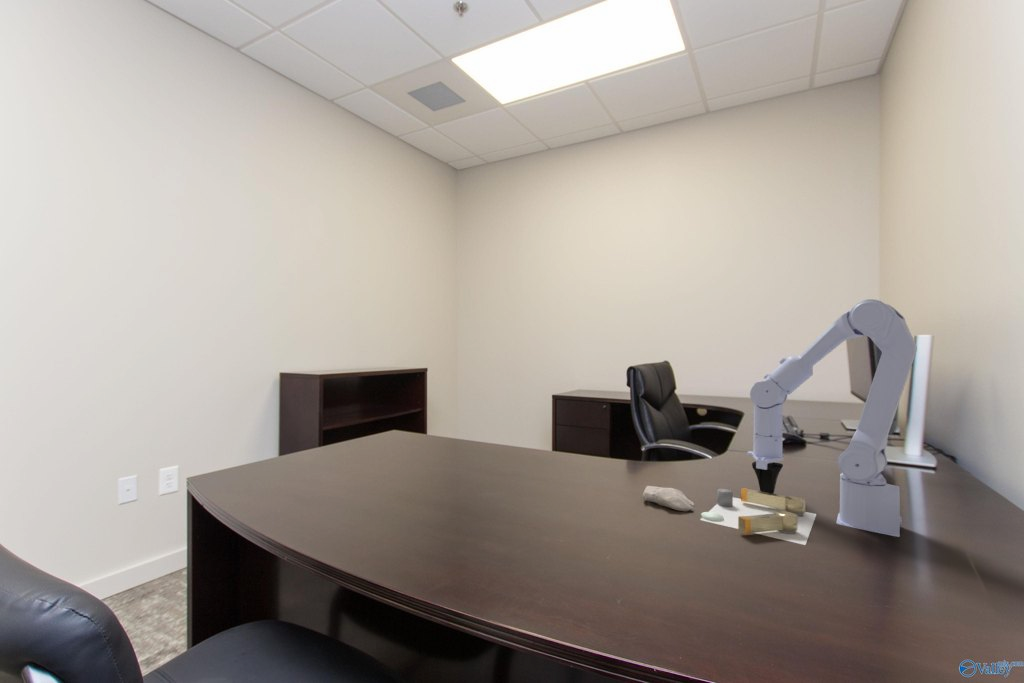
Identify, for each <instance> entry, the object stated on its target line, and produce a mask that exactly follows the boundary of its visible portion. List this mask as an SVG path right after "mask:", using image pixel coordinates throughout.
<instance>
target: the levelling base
mask: <svg viewBox="0 0 1024 683" xmlns="http://www.w3.org/2000/svg"><path fill="white" fill-rule="evenodd" d="M733 495H734V491H733V490H730V489H727V488H718V489H717V496H716V497H717V499H716V502H717V503H716V504H715V505H714V506H713V507H711V509H710V510H709V511H703V512H701V513H700V519H699V520H700V521H702V522H706V523H709V524H710V523H711V524H715V525H718V526H723V527H728V528H732V529H736V530H738V516H753V515H764V514H775V512H776V511H787V510H785V509H780V508H775V507H770V506H765V505H760V504H755V503H750V502H744V501H741V498H739V497H734V496H733ZM787 512H789V511H787ZM791 513H793V512H791ZM794 514H796V515H797V516H798V530H797V531H786V530H775V531H766V532H756V533H755V534H757V535H762V536H765V537H769V538H773V539H778V540H782V541H785V542H790V543H794V544H798V545H801V546H807V542H808V539H809V537H810V534H811V531H812V527H813V525H814V523H815V521H816V517H817V513H814V512H808V511H805V513H802V514H799V513H794Z"/></svg>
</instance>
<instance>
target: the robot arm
mask: <svg viewBox="0 0 1024 683" xmlns="http://www.w3.org/2000/svg"><path fill="white" fill-rule="evenodd" d="M864 336H867V337H869V339H871V341H872V342H873V343H874V345H875V346H876V347H877V348H878V349H879V351H881V354H880V357H879V361H878V364H877V367H876V370H875V373H874V376H873V379H872V382H871V385H870V388H869V391H868V394H867V398H866V400H865V403H864V406H863V409H862V411H861V412H862V413H861V416H860V420H859V422H858V425H857V427H856V430H855V432H854V434H853V435H852V438H851V440H850V442H849V445H848V447H847V448H846V449H845V450H843V451H842V452H841V453H840V454H839V456H838V458H837V466H838V468H839V471H840V474H839V478H840V479H839V512H838V513H837V518H836V523H835V524H836V525H839V526H844V527H847V528H853V529H859V530H863V531H868V532H872V533H877V534H882V535H888V536H892V537H898V538H899V537H901V535H900V534H901V533H900V530H901V528H900V527H902V522H903V520H902V518H903V517H902V516H901V504H900V503H901V501H900V500H901V496H900V495H901V491H900V490H901V489H900V486H898V485H894V484H890V483H887V479H886V478H885V477H884V476H883V474H882V472H883V471H884V470H885V469H886V467H887V465H888V458H887V456H886V449H887V445H888V436H889V433H890V432H891V431H890V430H891V427H892V425H893V422H894V419H895V416H896V414H897V409H898V406H899V404H900V400H901V397H902V395H903V392H904V389H905V387H906V384H907V382H908V381H907V380H908V378H909V374H910V372H911V369H912V366H913V362H914V360H915V356H916V354H917V350H918V346H917V344H916V342H915V339H914V337H913V336H912V333H911V330H910V329H909V326H908V325H907V321H906V319H905V317H904V315H902V314H901V313H900V312H899V311H898V310H897V309H896V308H895V307H893V306H892V305H890V304H888V303H885V302H883V301H881V300H879V299H873V298H872V299H871V298H869V299H864V300H861V301H859V302H857V303H855V305H853V307H852V308H851V309H850V310H847V311H846V312H843V314H841V315H840V316H839V317H838V318H837V319H836V320H835V321H834V322H833V323H832V324H831V325H830V326H829V327H828V328H826V330H824V332H822V334H821V335H819V337H817V338H816V339H815V341H813V342H812V343H811V344H810V345H809V346H808V347H807V348H806V349H805V350H804V351H803V352H802V353H801V354H800V355H791V356H788V357H787V358H786V357H783V358H782V359H781V360H779V361H778V363H780V365H778V366H777V367H776V368H775V369H774V370H773V371H772V372H771V373H770V374H765V375H764V376H763V379H764V380H759V381H757V382H755V383H754V385H753V386H752V388H751V389H750V392H749V397H750V400H751V401H752V403H753V437H752V438H753V443H752V446H753V449H752V450H753V451H752V450H751V451H749V450H748V451H746V452H747V456H750V457H752V458H753V459H754V460H755V461H753V462H751V466H752V469H753V470H754V473H755V475H756V479H757V481H758V487H759V491H762V492H767V493H772V494H775V489H776V484H777V482H778V481H777V480H778V478H779V474H780V472H781V470H782V469H783V467H784V465H783V463H782V461H784V455H783V442H784V441H783V438H784V437H783V432H784V431H783V427H784V426H783V423H784V422H783V420H784V418H783V417H784V416H783V405H784V404H785V403H786V401H787V399H788V395H791V394H792V393H793V392H794V391H795V390H796V391H797V389H798V388H799V387H801V386H802V385H803V384H804V383H805V382H806V381H807V380H808V379H810V378H812V376H813V373H814V372H813V370H814V366H815V365H817V363H819V362H821V360H822V359H823V358H825V357H826V356H827V355H828V354H830V353H831V352H833V351H834V350H835V349H836V348H837V347H839V346H840V345H842V344H843V343H844V342H845V341H848V340H852V339H856V338H857V339H858V338H861V337H864ZM780 462H781V463H780Z"/></svg>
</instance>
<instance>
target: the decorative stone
mask: <svg viewBox="0 0 1024 683" xmlns="http://www.w3.org/2000/svg"><path fill="white" fill-rule="evenodd" d="M642 498H643V499H644V500H645V501H646V502H649V503H655V504H657V505H658V506H661V507H666V508H669V509H671V510H676V511H680V512H689V511H691V510H694V507H695V503H694V502H693V501H692V500H690V499H688V497H687V495H685V494H684V492H683V491H682V490H679V489H676V488H673V487H661V486H653V485H647V486H645V489H644V491H643V493H642Z"/></svg>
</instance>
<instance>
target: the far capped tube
mask: <svg viewBox="0 0 1024 683" xmlns="http://www.w3.org/2000/svg"><path fill="white" fill-rule="evenodd" d="M740 499H741V501H744V502H750V503H755V504H760V505H765V506H770V507H775V508H780V509H785V510H787V511H789V512H793V513H799V514H802V513H805V512H806V499H804V498H803V497H800V496H795V495H794V496H793V495H784V494H783V495H782V494H776V493H774V494H772V493H767V492H762V491H760V490H755V489H750V488H747V487H741V489H740Z"/></svg>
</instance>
